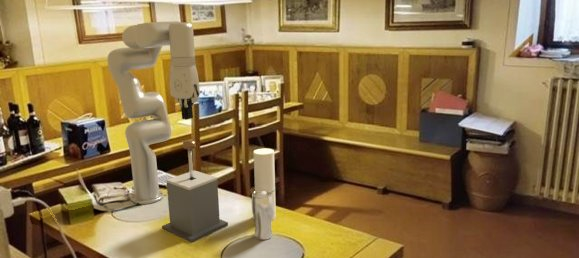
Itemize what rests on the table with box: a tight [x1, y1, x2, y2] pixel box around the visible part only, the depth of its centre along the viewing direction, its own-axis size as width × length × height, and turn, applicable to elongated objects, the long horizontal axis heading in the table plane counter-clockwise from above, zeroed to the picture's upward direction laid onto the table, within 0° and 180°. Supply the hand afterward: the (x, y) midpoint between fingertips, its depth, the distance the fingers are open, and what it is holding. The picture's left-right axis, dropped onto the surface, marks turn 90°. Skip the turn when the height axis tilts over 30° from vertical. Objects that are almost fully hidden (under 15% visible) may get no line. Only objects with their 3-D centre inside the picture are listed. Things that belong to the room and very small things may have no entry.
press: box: [161, 169, 229, 244], centre depth 164 cm, size 16×17×18 cm
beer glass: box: [251, 190, 273, 241], centre depth 157 cm, size 7×7×15 cm
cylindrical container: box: [253, 147, 277, 221], centre depth 169 cm, size 7×7×25 cm
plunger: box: [182, 139, 196, 180], centre depth 160 cm, size 9×9×17 cm
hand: (187, 118), depth 156 cm, fingers closed
